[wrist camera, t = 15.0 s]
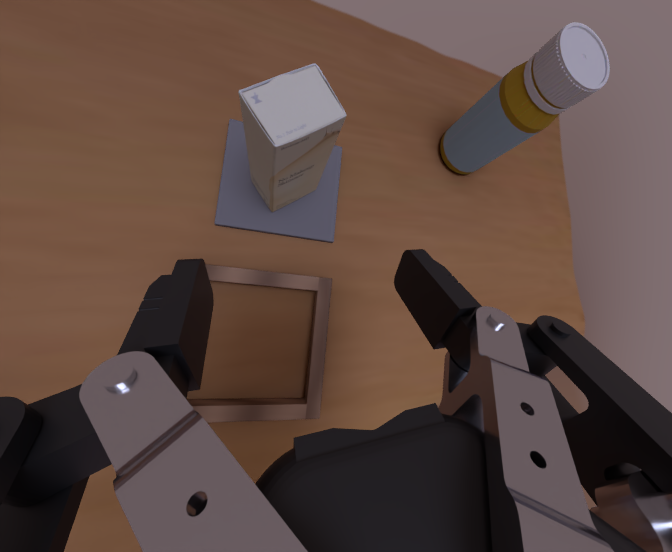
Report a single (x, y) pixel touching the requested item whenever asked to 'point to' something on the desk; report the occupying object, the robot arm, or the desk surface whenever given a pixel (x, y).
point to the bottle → (528, 99)
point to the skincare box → (290, 133)
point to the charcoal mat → (253, 213)
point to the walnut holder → (312, 402)
